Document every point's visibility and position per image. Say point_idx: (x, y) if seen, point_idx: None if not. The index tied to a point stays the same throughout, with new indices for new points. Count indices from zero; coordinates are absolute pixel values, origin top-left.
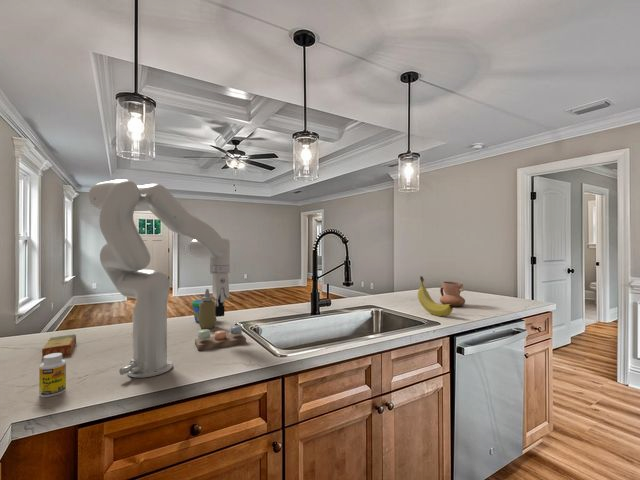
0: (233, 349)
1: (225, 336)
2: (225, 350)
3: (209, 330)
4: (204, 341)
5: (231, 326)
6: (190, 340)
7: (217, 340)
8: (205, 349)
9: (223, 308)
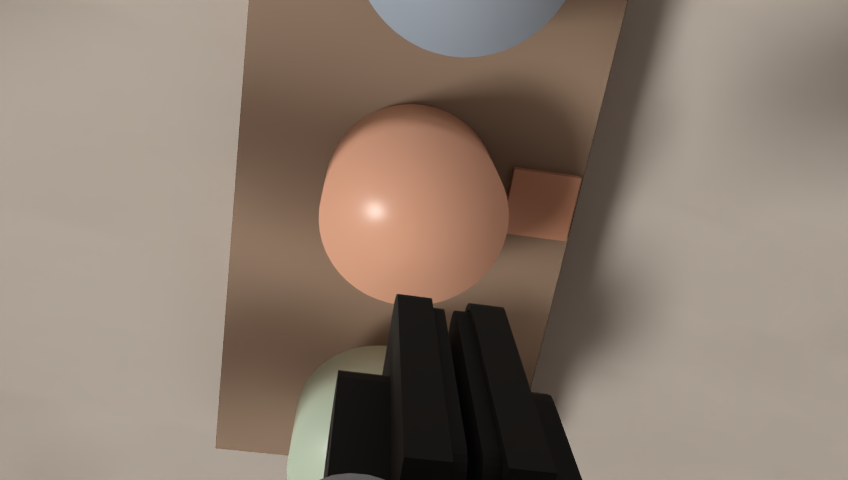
0: (740, 110)
1: (481, 145)
2: (700, 203)
3: None
4: None
5: (384, 14)
6: (39, 415)
7: None
8: None
9: (531, 440)
